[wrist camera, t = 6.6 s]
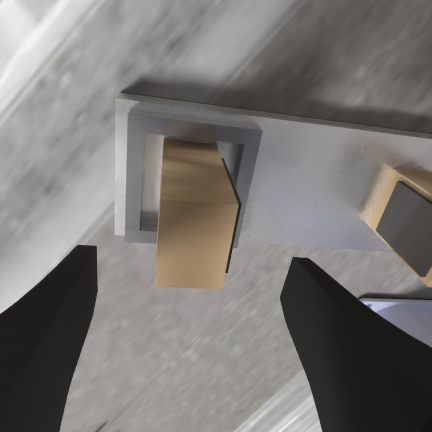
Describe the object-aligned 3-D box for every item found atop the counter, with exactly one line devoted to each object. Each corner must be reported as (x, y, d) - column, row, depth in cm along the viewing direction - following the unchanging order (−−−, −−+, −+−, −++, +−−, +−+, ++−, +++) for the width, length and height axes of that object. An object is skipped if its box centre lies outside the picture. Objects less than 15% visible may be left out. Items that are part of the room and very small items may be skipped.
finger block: (158, 205, 20) (154, 286, 14) (163, 138, 18) (160, 199, 12) (211, 208, 20) (229, 289, 14) (221, 144, 18) (246, 205, 12)
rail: (446, 135, 21) (480, 150, 19) (395, 240, 25) (417, 263, 23) (119, 92, 18) (112, 103, 15) (118, 222, 22) (111, 246, 19)
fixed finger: (432, 172, 21) (519, 223, 16) (405, 227, 23) (474, 288, 18) (387, 167, 20) (462, 218, 15) (363, 224, 22) (422, 286, 17)
